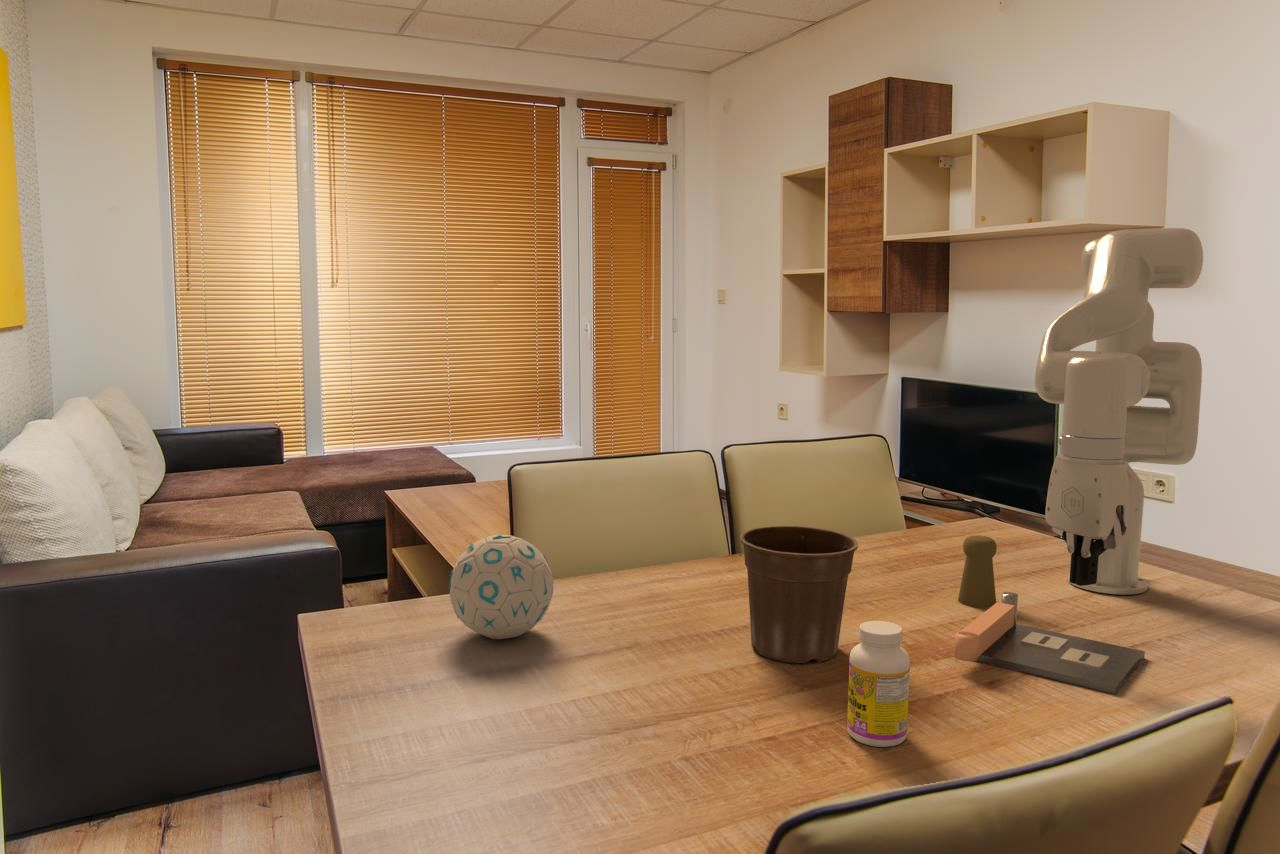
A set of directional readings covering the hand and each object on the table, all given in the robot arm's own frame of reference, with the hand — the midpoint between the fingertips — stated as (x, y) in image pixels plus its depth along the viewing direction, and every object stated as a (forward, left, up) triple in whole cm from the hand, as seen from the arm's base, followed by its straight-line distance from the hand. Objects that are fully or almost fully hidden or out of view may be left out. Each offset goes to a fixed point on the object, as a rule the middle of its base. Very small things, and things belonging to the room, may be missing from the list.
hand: (1083, 583), depth 128 cm
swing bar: (+5, -11, -9) cm, 15 cm away
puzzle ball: (+43, -69, -12) cm, 81 cm away
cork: (-18, -21, -12) cm, 30 cm away
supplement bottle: (+38, -12, -12) cm, 41 cm away
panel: (0, -4, -11) cm, 12 cm away
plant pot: (+20, -33, -12) cm, 40 cm away
